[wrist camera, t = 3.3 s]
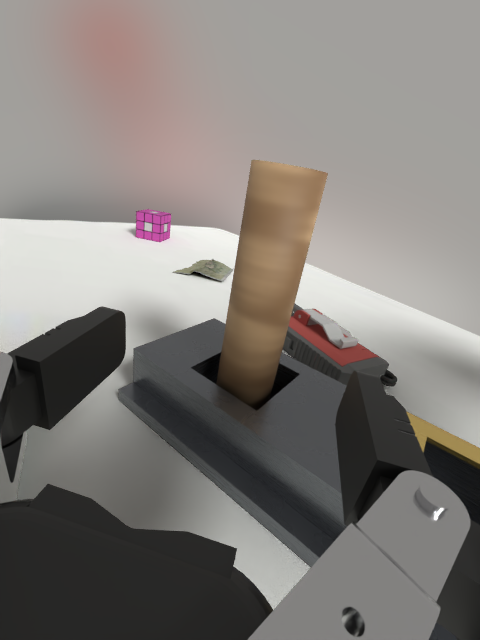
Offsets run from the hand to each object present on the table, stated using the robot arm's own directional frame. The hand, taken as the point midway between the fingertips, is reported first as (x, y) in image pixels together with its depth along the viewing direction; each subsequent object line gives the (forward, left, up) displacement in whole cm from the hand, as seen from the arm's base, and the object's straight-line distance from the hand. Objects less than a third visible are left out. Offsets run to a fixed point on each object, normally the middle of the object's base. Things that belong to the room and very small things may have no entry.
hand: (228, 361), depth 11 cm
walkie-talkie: (-24, -5, -11) cm, 27 cm away
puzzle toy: (-39, -53, -11) cm, 66 cm away
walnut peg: (-8, -4, -9) cm, 13 cm away
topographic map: (-33, -33, -11) cm, 48 cm away
